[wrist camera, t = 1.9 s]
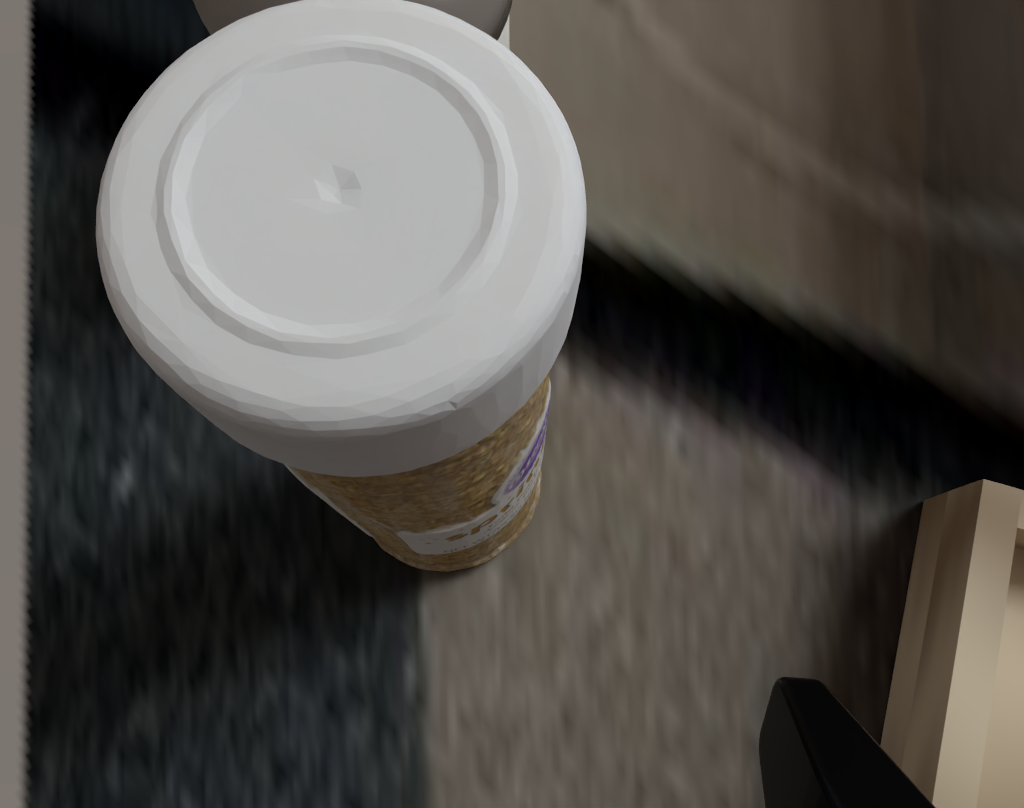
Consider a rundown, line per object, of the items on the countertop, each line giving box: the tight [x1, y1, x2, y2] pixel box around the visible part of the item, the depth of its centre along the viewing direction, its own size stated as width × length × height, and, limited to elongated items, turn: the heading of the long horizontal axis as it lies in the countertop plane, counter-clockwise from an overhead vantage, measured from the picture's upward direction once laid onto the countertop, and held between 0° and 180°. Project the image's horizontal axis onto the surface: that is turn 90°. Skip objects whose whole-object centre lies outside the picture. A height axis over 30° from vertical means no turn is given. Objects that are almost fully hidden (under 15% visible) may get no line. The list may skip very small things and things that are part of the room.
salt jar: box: [193, 0, 512, 49], centre depth 20 cm, size 6×6×7 cm
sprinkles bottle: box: [96, 0, 586, 572], centre depth 14 cm, size 5×5×14 cm
